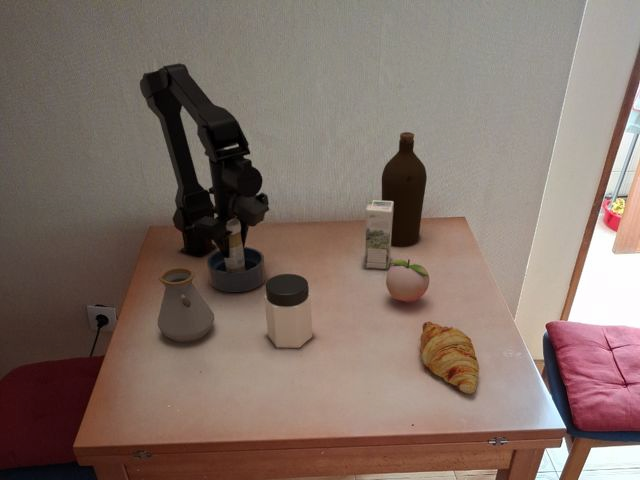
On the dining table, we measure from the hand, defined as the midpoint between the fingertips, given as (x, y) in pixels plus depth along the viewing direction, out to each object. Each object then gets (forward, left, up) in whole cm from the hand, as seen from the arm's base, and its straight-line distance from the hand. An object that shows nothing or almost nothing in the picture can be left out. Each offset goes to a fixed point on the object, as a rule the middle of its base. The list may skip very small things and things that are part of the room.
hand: (234, 252), depth 136 cm
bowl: (0, 0, -7) cm, 7 cm away
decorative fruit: (+38, +9, -7) cm, 40 cm away
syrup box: (+25, +22, -7) cm, 34 cm away
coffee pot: (+7, -26, -7) cm, 27 cm away
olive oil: (+24, +37, -7) cm, 45 cm away
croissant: (+54, -8, -7) cm, 55 cm away
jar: (+23, -14, -7) cm, 28 cm away
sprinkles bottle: (0, 0, -6) cm, 6 cm away
